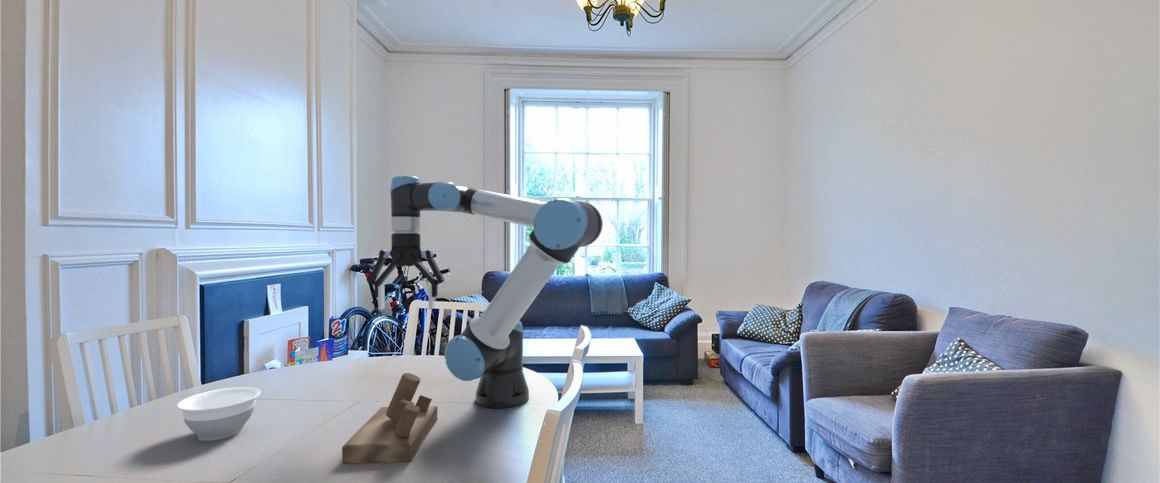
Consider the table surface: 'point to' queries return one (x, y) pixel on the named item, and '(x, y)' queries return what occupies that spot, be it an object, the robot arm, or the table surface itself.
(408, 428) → the wooden block set
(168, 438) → the table surface
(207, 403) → the bowl
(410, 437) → the plinth
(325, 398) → the table surface
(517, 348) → the robot arm
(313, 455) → the table surface
